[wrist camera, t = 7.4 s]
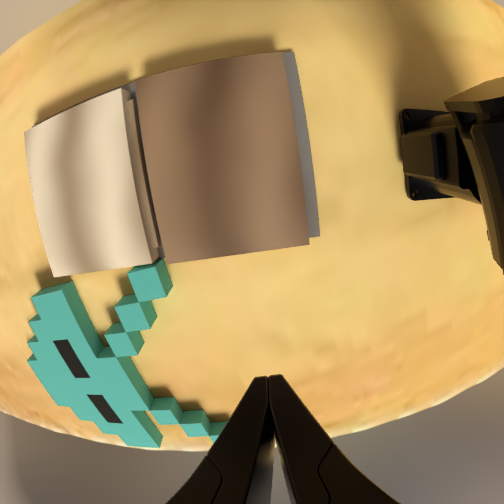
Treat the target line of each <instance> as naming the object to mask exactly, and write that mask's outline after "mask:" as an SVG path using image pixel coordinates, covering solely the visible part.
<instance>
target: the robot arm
mask: <svg viewBox="0 0 504 504" xmlns="http://www.w3.org/2000/svg"><path fill="white" fill-rule="evenodd" d="M444 104H445V106H446V108H447V110H448V111H450V112H442V111H431V110H419V109H403V110H401V111H400V112H399V119H400V126H401V134H402V136H401V138H400V139H401V147H402V157H403V169H404V173H405V174H406V190H407V196H408V198H409V199H411V200H414V201H417V200H428V199H440V198H452V197H457V198H460V199H464V200H467V201H471V202H474V203H477V204H480V205H482V207H483V211H484V215H485V220H486V224H487V229H488V230H487V235H488V240H489V241H490V246H491V251H492V255H493V258H494V260H495V261H496V262H497V264H498V265H499V266H500V267H501V268H502V269H503V274H504V77H502V78H497V79H493V80H489V81H486V82H484V83H481V84H479V85H477V86H475V87H473V88H471V89H468V90H466V91H464V92H462V93H460V94H458V95H456V96H454V97H451V98H449V99H447V100H445V101H444ZM405 113H406V114H407V115H408V119H406V118H405ZM413 191H415V195H414V196H413V195H412V192H413ZM275 439H276V444H277V449H278V453H279V457H280V461H281V465H282V469H283V473H284V477H285V482H286V486H287V490H288V494H289V497H290V502H291V504H401V503H399V502H397V501H396V500H395V499H393V498H392V497H391V496H389V495H388V494H387V493H386V492H384V491H383V490H382V489H381V488H379V487H378V486H377V485H376V484H375V483H373V482H372V481H371V480H370V479H369V478H367V477H366V476H365V475H364V474H363V473H362V472H361V471H360V470H359V469H358V468H356V467H355V466H354V465H353V464H352V463H351V462H350V460H349V459H348V458H347V457H346V456H345V455H344V454H343V453H342V451H341V450H340V449H339V448H338V447H337V445H336V444H334V442H333V441H332V439H331V438H330V437H329V435H328V434H327V433H326V432H325V430H324V429H323V428H322V427H321V425H320V424H319V423H318V421H317V420H316V419H315V418H314V416H313V415H312V414H311V412H310V411H309V410H308V409H307V407H306V406H305V405H304V403H303V402H302V401H301V399H300V398H299V397H298V395H297V394H296V393H295V391H294V390H293V389H292V387H291V386H290V385H289V383H288V382H287V381H286V379H285V378H284V377H283V375H281V374H277V375H270V376H269V377H267V376H260V377H255V378H254V379H253V381H252V382H251V384H250V386H249V387H248V389H247V391H246V392H245V394H244V396H243V397H242V399H241V401H240V402H239V404H238V406H237V407H236V409H235V411H234V412H233V414H232V415H231V417H230V419H229V420H228V422H227V423H226V425H225V427H224V428H223V430H222V431H221V433H220V434H219V436H218V438H217V439H216V441H215V442H214V444H213V445H212V447H211V448H210V450H209V451H208V453H207V456H205V457H204V459H203V460H202V462H201V463H200V465H199V466H198V467H197V469H196V470H195V471H194V473H193V474H192V475H191V477H190V478H189V479H188V480H187V481H186V482H185V484H184V485H183V486H182V487H181V488H180V489H179V490H178V491H177V492H176V493H175V494H174V495H173V496H172V497H171V499H170V500H169V501H168V502H167V503H166V504H270V502H271V490H272V476H273V463H274V449H275Z"/></svg>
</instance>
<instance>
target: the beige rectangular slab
mask: <svg viewBox="0 0 504 504" xmlns="http://www.w3.org/2000/svg"><path fill="white" fill-rule="evenodd" d="M24 136H25V147H26V156H27V165H28V172H29V178H30V185H31V190H32V196H33V201H34V206H35V211H36V215H37V220H38V224H39V228H40V232H41V236H42V240H43V243H44V247H45V251H46V254H47V257H48V261H49V264H50V267H51V270H52V273H53V276H54V277H61V276H68V275H75V274H82V273H89V272H96V271H103V270H110V269H117V268H124V267H131V266H138V265H145V264H152V263H153V262H154V261H155V260H156V259H157V258H158V257H159V254H158V250H157V247H159V246H160V245H161V244H160V239H159V235H158V230H157V226H156V221H155V217H154V212H153V207H152V202H151V197H150V192H149V187H148V181H147V176H146V170H145V164H144V158H143V152H142V145H141V139H140V132H139V124H138V116H137V108H136V101H135V100H133V99H132V100H131V94H130V92H129V91H127V90H124V89H122V88H120V89H117V90H114V91H111V92H109V93H106V94H103V95H101V96H98V97H96V98H93V99H91V100H89V101H86V102H84V103H82V104H79V105H77V106H75V107H73V108H70V109H68V110H66V111H64V112H62V113H60V114H58V115H56V116H54V117H52V118H50V119H48V120H46V121H44V122H42V123H40V124H38V125H36V126H35V127H33V128H31V129H29V130H28V131H26V132H24Z"/></svg>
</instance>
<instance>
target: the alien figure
mask: <svg viewBox="0 0 504 504" xmlns="http://www.w3.org/2000/svg"><path fill="white" fill-rule="evenodd" d="M127 275H128V277H129V280H130V282H131V285H132V287H133V290H134V292H135V294H132V295H127V296H123V297H122V298H121V300H120V301H119V302H118V303H117V304H116V305H115V307H114V308H115V310H116V312H117V315H118V317H119V319H120V321H121V323H114V324H112V325H111V327H110V328H109V329H108V331H107V332H106V333H105V335H104V336H105V338H106V340H107V342H108V343H109V345H110V347H104V345H103V343H102V341H101V340H100V338H99V336H98V334H97V332H96V330H95V328H94V326H93V324H92V322H91V320H90V318H89V316H88V314H87V312H86V310H85V307H84V305H83V303H82V301H81V299H80V297H79V294H78V292H77V290H76V287H75V285H74V283H73V281H71V282H67V283H63V284H60V285H56V286H52V287H49V288H45V289H42V290H40V291H39V292H38V293H36V294H35V295H34V296H32V297H31V299H32V301H33V303H34V306H35V308H36V310H37V312H38V314H37V315H36V316H35V317H33V318H32V319H31V320H30V321H29V324H30V326H31V328H32V330H33V332H34V333H35V335H34V336H33V337H32V338H31V339H30V340H29V341H28V342H27V343H28V345H29V347H30V348H31V350H32V352H33V354H32V355H31V357H30V358H29V359H28V360H27V362H28V363H29V365H30V366H31V368H32V370H33V371H34V373H35V374H36V376H37V377H38V379H39V380H40V382H41V383H42V385H43V386H44V387H45V389H46V390H47V392H48V393H49V394H50V396H51V397H52V399H53V400H54V401H55V402H56V404H57V405H58V406H66V407H70V408H71V409H72V410H73V412H74V413H75V414H76V416H77V417H78V418H79V419H80V420H86V421H93V422H94V423H95V424H96V425H97V426H98V428H99V429H100V430H101V431H102V432H103V433H105V434H115V435H119V437H120V438H121V439H122V440H123V441H124V442H125V443H126V445H127V446H138V447H155V448H160V445H161V441H162V438H163V436H162V434H161V433H160V432H159V430H158V429H157V428H156V426H155V425H154V424H153V422H152V421H151V420H150V418H149V417H148V416H147V414H146V413H145V411H150V412H151V413H152V415H153V416H154V418H155V419H156V420H157V422H158V423H159V425H167V424H180V426H181V427H182V428H183V430H184V431H185V433H186V434H187V436H188V437H197V436H209V437H210V438H211V440H212V441H213V443H214V442H215V441H216V439H217V438H218V436H219V434H220V433H221V431H222V430H223V428H224V427H225V425H226V423H227V422H228V421H227V422H216V423H211V422H210V420H209V419H208V417H207V415H206V413H205V412H204V410H195V411H182V409H181V407H180V406H179V404H178V403H177V401H176V399H175V398H174V397H163V398H154V397H153V395H152V394H151V392H150V390H149V389H148V387H147V386H146V384H145V382H144V381H143V379H142V377H141V376H140V374H139V372H138V370H137V369H136V367H135V365H134V363H133V362H132V360H131V358H130V356H134V355H138V354H139V352H140V350H141V348H142V346H143V344H144V343H145V342H144V340H143V338H142V336H141V334H140V332H139V330H145V329H151V327H152V325H153V323H154V321H155V320H156V318H157V314H156V312H155V310H154V307H153V305H152V303H151V300H154V299H159V298H164V297H167V295H168V293H169V292H170V290H171V288H172V287H173V284H172V282H171V279H170V276H169V273H168V271H167V268H166V265H165V262H164V259H163V258H160V259H156V260H155V261H154V262H153V263H152V264H145V265H138V266H134V267H133V268H132V269H131V270H130V271H129V272H128V273H127Z"/></svg>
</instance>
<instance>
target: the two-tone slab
mask: <svg viewBox="0 0 504 504" xmlns="http://www.w3.org/2000/svg"><path fill="white" fill-rule="evenodd" d="M120 88H122V89H124V90H127V91H129V92H130V94H131V100H132V99H133V100H135V101H136V108H137V116H138V124H139V132H140V139H141V145H142V152H143V158H144V164H145V170H146V176H147V181H148V187H149V192H150V197H151V202H152V207H153V212H154V217H155V221H156V226H157V230H158V235H159V239H160V244H161V245H160V246H159V247H157V250H158V254H159V257H158V258H157V259H159V258H166V262H167V264H172V263H179V262H187V261H194V260H201V259H208V258H216V257H223V256H230V255H238V254H245V253H252V252H259V251H267V250H274V249H281V248H289V247H296V246H303V245H309V238H310V237H317V236H320V229H319V218H318V208H317V198H316V189H315V180H314V172H313V164H312V156H311V149H310V142H309V135H308V128H307V121H306V115H305V109H304V103H303V97H302V92H301V86H300V81H299V75H298V70H297V65H296V60H295V55H294V52H283V53H282V52H270V53H260V54H252V55H244V56H237V57H231V58H225V59H219V60H213V61H208V62H203V63H199V64H194V65H190V66H185V67H181V68H177V69H173V70H169V71H166V72H162V73H158V74H155V75H152V76H148V77H145V78H142V79H139V80H136V81H135V82H133V83H130V84H127V85H124V86H121V87H118V88H116V89H113V90H110V91H108V92H105V93H103V94H106V93H109V92H111V91H114V90H117V89H120ZM103 94H100V95H98V96H101V95H103ZM98 96H95V97H93V98H96V97H98ZM93 98H90V99H88V100H85V101H83V102H81V103H79V104H82V103H84V102H86V101H89V100H91V99H93ZM79 104H76V105H74V106H72V107H70V108H73V107H75V106H77V105H79ZM70 108H68V109H70ZM68 109H66V110H68ZM66 110H64V111H66ZM64 111H61V112H59V113H57V114H55V115H53V116H51V117H49V118H48V119H50V118H52V117H54V116H56V115H58V114H60V113H62V112H64ZM48 119H46V120H48ZM46 120H44V121H46ZM44 121H42V122H44ZM42 122H40V123H42ZM40 123H38V124H40ZM38 124H36V125H38ZM36 125H34V126H33V127H35V126H36ZM33 127H32V128H33Z"/></svg>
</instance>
